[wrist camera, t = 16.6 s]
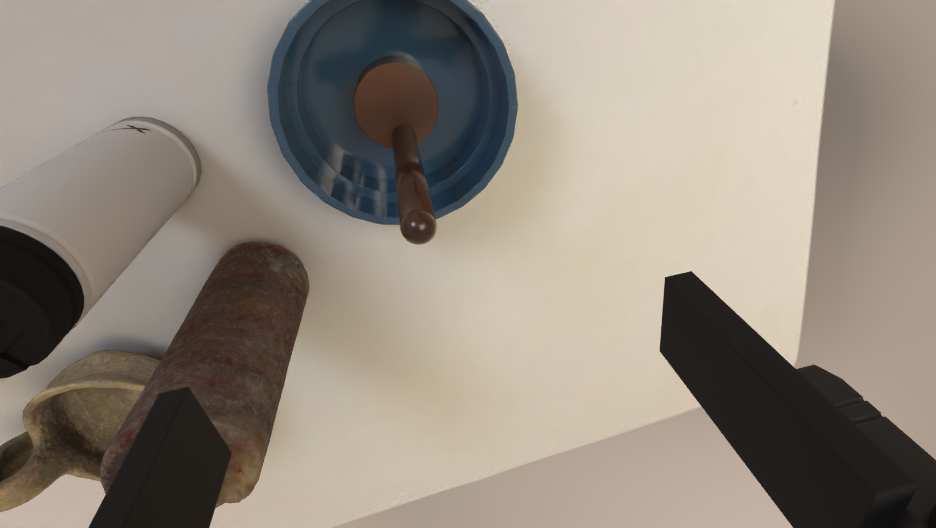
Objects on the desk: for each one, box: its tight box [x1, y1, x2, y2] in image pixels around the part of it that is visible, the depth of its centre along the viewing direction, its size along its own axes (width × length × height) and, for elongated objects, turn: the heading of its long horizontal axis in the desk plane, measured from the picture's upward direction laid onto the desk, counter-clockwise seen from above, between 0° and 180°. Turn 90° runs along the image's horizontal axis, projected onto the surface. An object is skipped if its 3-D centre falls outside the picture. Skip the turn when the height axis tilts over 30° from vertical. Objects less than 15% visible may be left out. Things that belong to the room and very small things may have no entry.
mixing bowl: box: [267, 0, 518, 225], centre depth 32 cm, size 15×15×6 cm
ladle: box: [354, 56, 439, 245], centre depth 27 cm, size 6×6×18 cm
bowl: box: [0, 350, 161, 512], centre depth 40 cm, size 14×18×10 cm
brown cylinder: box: [100, 242, 309, 508], centre depth 32 cm, size 8×7×20 cm
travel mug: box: [0, 117, 201, 379], centre depth 26 cm, size 6×7×20 cm
